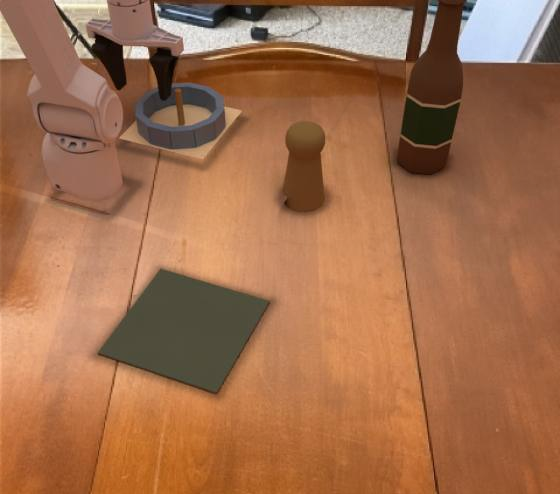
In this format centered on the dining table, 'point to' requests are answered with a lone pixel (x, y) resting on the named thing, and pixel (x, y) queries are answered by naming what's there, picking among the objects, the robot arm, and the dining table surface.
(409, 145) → the beer bottle
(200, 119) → the stand
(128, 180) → the dining table surface
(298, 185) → the brown pawn
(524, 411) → the dining table surface
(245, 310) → the mat
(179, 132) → the ring
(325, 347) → the dining table surface
